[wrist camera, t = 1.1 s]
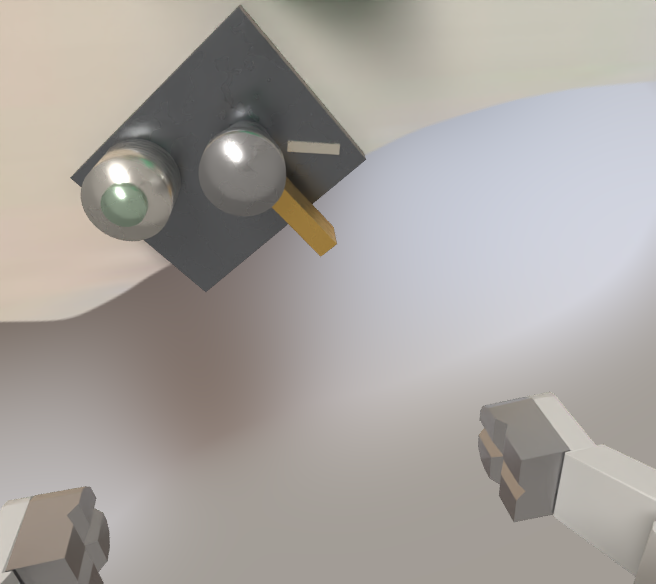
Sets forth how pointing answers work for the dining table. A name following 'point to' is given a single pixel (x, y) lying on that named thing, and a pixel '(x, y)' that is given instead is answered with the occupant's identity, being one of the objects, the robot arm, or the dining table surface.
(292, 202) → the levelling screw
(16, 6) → the dining table surface
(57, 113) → the dining table surface
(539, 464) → the robot arm
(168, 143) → the base
